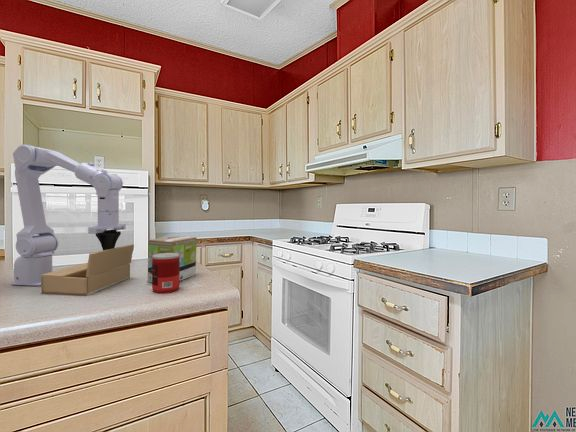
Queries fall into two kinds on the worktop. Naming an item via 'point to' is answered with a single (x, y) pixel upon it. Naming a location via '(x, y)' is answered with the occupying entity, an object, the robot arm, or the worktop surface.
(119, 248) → the flap
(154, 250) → the tea box
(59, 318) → the worktop surface
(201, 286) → the worktop surface
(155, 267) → the canned food
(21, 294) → the worktop surface
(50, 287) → the carton
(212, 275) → the worktop surface
